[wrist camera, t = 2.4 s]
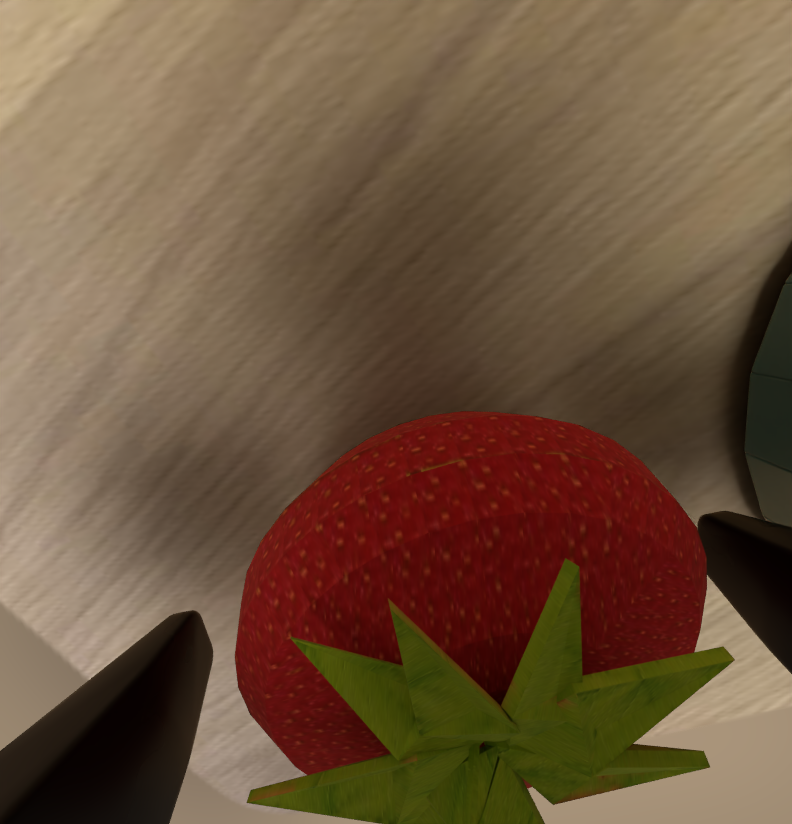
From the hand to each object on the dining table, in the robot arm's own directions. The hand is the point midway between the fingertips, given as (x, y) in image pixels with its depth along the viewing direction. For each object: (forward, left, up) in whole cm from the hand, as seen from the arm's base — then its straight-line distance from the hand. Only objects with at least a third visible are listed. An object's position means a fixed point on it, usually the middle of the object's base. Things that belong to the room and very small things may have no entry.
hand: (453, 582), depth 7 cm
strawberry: (0, 0, -5) cm, 5 cm away
